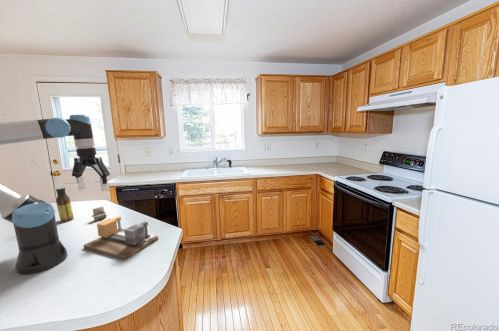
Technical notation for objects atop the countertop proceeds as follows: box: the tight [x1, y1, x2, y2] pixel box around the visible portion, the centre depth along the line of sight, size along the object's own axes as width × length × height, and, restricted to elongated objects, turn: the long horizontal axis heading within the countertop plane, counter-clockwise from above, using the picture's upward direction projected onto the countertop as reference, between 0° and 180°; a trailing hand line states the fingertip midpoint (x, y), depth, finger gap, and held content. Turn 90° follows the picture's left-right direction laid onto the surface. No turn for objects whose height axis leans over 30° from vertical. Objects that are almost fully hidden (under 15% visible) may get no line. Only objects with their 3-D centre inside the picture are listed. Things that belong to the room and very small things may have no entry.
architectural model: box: [90, 206, 107, 221], centre depth 131 cm, size 3×7×7 cm, turn 141°
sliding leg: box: [96, 216, 122, 238], centre depth 107 cm, size 10×5×6 cm, turn 158°
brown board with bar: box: [83, 221, 159, 261], centre depth 102 cm, size 18×26×9 cm
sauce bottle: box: [55, 186, 74, 223], centre depth 130 cm, size 6×6×20 cm
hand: (93, 189), depth 110 cm, fingers open, 13 cm apart
